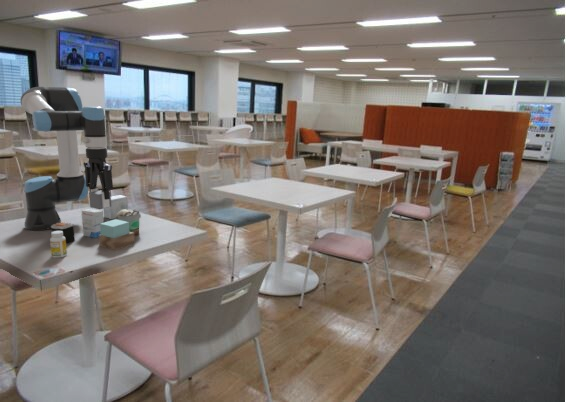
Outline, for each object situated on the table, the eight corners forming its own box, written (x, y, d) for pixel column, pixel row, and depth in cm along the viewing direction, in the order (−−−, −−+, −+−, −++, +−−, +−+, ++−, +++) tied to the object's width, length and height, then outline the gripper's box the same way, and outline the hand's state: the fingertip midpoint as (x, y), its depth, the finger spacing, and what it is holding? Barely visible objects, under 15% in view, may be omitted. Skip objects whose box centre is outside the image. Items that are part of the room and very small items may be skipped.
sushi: (63, 245, 170) (61, 227, 168) (48, 242, 173) (46, 224, 171) (78, 239, 178) (77, 222, 176) (64, 237, 180) (62, 220, 179)
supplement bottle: (55, 259, 156) (52, 235, 154) (49, 255, 159) (46, 232, 157) (69, 255, 160) (67, 232, 158) (63, 252, 163) (61, 229, 161)
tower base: (99, 246, 172) (98, 234, 170) (118, 239, 180) (117, 228, 179) (116, 250, 167) (115, 239, 166) (135, 243, 176) (134, 232, 174)
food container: (132, 239, 180) (131, 217, 178) (119, 238, 181) (118, 216, 179) (147, 231, 192) (145, 210, 189) (135, 230, 193) (133, 209, 191)
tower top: (100, 235, 170) (99, 223, 169) (116, 230, 177) (115, 219, 176) (114, 238, 167) (113, 226, 165) (129, 233, 173) (128, 222, 172)
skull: (146, 221, 205) (134, 209, 197) (134, 238, 200) (122, 227, 192) (129, 216, 210) (117, 205, 202) (117, 233, 205) (105, 222, 197)
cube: (90, 207, 161) (89, 192, 160) (102, 204, 166) (101, 190, 165) (99, 209, 159) (98, 194, 157) (111, 206, 164) (110, 191, 162)
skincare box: (111, 219, 209) (109, 199, 206) (103, 217, 212) (102, 197, 210) (128, 215, 217) (127, 196, 215) (121, 213, 221) (119, 194, 218)
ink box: (105, 235, 184) (103, 210, 182) (96, 238, 180) (94, 212, 177) (92, 232, 188) (89, 207, 185) (82, 235, 184) (80, 210, 181)
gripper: (71, 146, 158) (77, 204, 163) (104, 150, 149) (108, 211, 155) (89, 145, 164) (93, 200, 170) (120, 148, 156) (124, 207, 161)
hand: (100, 205), depth 162 cm, fingers closed on cube, 5 cm apart
